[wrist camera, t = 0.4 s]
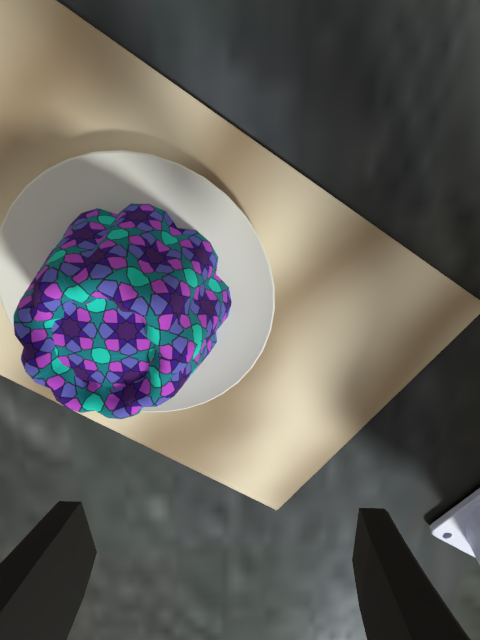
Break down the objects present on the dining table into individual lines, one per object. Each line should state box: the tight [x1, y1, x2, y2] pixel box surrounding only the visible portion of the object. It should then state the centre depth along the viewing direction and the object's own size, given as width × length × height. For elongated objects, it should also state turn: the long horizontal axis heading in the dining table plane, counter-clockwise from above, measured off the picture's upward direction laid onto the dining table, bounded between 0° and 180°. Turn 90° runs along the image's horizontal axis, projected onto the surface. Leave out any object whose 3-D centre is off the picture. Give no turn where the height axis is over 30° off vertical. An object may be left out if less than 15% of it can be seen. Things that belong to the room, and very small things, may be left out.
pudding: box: [0, 150, 275, 419], centre depth 15 cm, size 12×12×5 cm
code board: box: [0, 0, 480, 510], centre depth 17 cm, size 28×16×1 cm, turn 58°
